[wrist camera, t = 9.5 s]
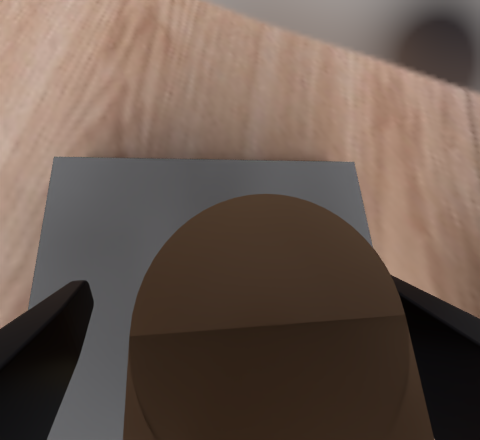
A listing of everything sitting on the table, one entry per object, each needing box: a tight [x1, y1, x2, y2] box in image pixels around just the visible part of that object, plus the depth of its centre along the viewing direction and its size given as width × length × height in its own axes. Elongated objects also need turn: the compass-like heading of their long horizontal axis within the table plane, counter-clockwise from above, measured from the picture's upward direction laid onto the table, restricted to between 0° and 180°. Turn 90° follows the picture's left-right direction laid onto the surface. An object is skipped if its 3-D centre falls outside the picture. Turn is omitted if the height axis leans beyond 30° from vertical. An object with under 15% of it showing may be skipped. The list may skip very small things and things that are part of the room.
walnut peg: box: [123, 194, 434, 440], centre depth 10 cm, size 4×4×13 cm
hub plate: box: [28, 157, 373, 440], centre depth 14 cm, size 18×18×3 cm
